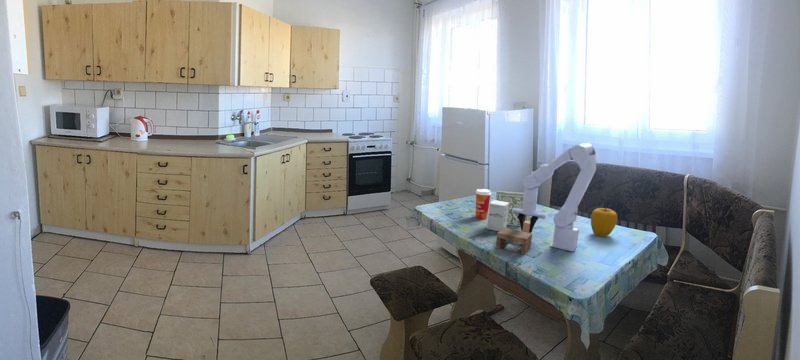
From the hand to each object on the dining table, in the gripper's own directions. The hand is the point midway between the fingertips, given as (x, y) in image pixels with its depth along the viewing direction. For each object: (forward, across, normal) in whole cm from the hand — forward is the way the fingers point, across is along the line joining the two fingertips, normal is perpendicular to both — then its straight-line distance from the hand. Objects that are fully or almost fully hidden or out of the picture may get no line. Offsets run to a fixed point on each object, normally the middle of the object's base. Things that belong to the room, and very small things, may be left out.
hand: (526, 231), depth 200 cm
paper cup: (+2, +26, -12) cm, 29 cm away
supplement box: (+2, +14, -1) cm, 14 cm away
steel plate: (+3, 0, +19) cm, 19 cm away
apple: (+2, -28, -23) cm, 36 cm away
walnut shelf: (+2, 0, +18) cm, 18 cm away
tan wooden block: (+2, 0, +7) cm, 7 cm away
